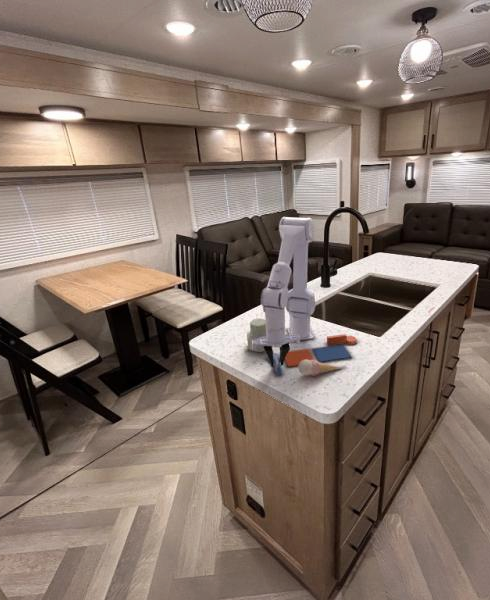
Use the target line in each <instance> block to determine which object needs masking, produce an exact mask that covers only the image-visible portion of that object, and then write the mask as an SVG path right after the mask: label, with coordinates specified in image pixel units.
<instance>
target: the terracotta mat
mask: <svg viewBox="0 0 490 600" xmlns="http://www.w3.org/2000/svg"><path fill="white" fill-rule="evenodd" d="M306 359H307V360H315V359H314V357H313V355H312V354H311V351H310V350H309V349H308V348H306V349H300V350H293V351H288V353H287V355H286V357H285V360H284V362H285V364H286V366H287V368H291V367H298V365H299V363H300V362H301V361H302V360H306Z"/></svg>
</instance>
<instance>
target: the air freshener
mask: <svg viewBox="0 0 490 600" xmlns="http://www.w3.org/2000/svg"><path fill="white" fill-rule="evenodd" d="M263 337H266V320H265V319H264V318H254V319H252V320H251V321H250V322H249V331H248V332H247V333H246V341H247V349H248V350H249V351H252V352H257V353H262V352H265V350H264V347H256V349H253V348H252V340H256V339H259V338H263Z"/></svg>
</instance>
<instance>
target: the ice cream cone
mask: <svg viewBox="0 0 490 600" xmlns="http://www.w3.org/2000/svg"><path fill="white" fill-rule="evenodd" d="M297 369H298V372H299V373H300V374H301V375H303V376H317V375H319V374H322V373H327V372H332V371H336V370H341V369H343V367H340V366H335V365H332V364H328V363H325V362H319V361H318V360H317V359H314V360H307V359H306V360H302V361H301V362H300V363H299V365H298V366H297Z"/></svg>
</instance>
